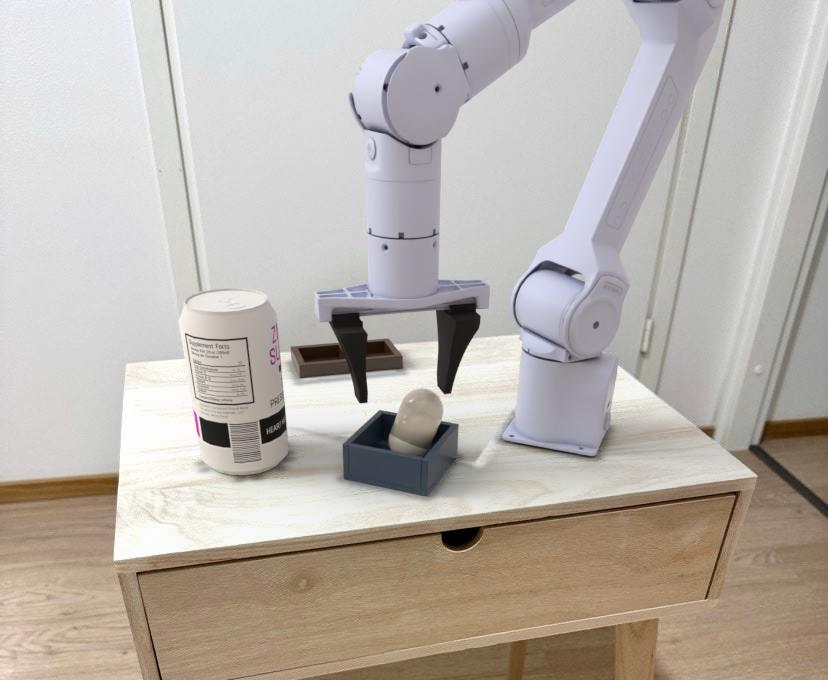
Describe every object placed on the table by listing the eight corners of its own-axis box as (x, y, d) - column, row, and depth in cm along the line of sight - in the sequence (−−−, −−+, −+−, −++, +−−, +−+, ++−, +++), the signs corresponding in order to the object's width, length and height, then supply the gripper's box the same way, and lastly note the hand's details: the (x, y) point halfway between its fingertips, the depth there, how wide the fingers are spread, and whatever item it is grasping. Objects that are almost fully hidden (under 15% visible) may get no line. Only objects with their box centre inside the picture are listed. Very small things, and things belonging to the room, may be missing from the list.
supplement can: (188, 453, 73) (160, 295, 64) (264, 432, 77) (247, 281, 68) (225, 487, 67) (200, 320, 59) (305, 462, 72) (292, 302, 63)
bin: (457, 457, 73) (459, 423, 71) (427, 496, 67) (427, 461, 65) (379, 442, 75) (379, 409, 73) (343, 478, 69) (342, 444, 67)
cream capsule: (426, 468, 72) (455, 399, 70) (414, 470, 68) (443, 397, 67) (390, 451, 73) (417, 383, 71) (375, 452, 69) (404, 380, 67)
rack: (402, 373, 91) (402, 356, 90) (300, 382, 88) (298, 365, 87) (388, 354, 96) (388, 338, 95) (291, 363, 93) (290, 346, 92)
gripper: (472, 216, 64) (465, 370, 72) (303, 225, 61) (314, 385, 68) (503, 234, 59) (492, 398, 66) (318, 245, 55) (329, 417, 63)
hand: (403, 394), depth 67 cm, fingers open, 7 cm apart
